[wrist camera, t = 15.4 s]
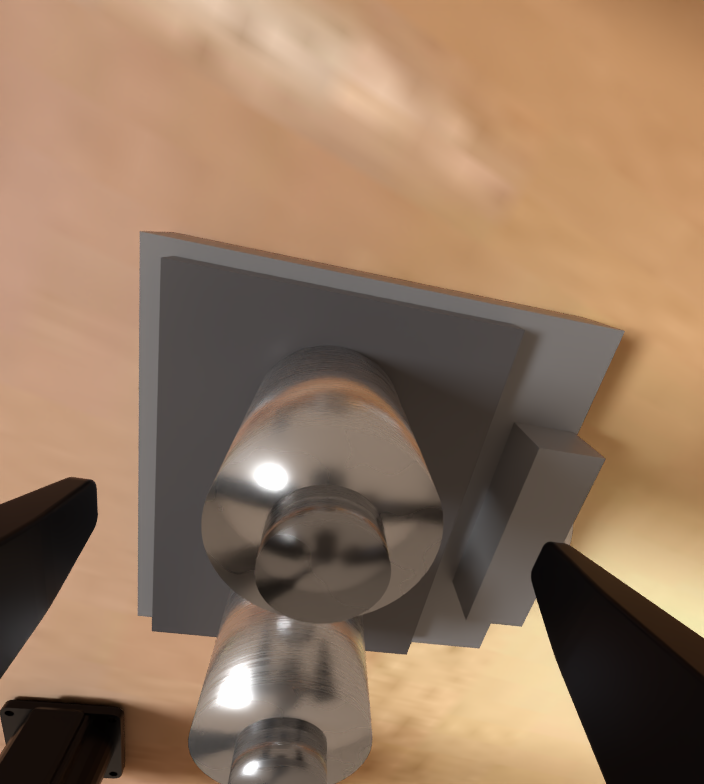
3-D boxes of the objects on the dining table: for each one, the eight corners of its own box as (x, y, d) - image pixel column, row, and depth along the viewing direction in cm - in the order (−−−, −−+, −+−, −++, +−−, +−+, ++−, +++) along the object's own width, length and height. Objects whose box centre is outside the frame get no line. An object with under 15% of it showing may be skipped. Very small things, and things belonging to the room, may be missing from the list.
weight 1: (381, 485, 14) (418, 675, 8) (246, 466, 14) (177, 655, 7) (415, 360, 12) (496, 481, 6) (263, 332, 12) (190, 434, 6)
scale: (467, 604, 21) (499, 690, 17) (160, 570, 20) (115, 658, 16) (587, 318, 16) (676, 346, 12) (171, 232, 14) (105, 230, 10)
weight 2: (346, 623, 17) (354, 849, 11) (231, 612, 16) (170, 842, 10) (370, 535, 15) (396, 741, 9) (243, 518, 14) (177, 728, 8)
